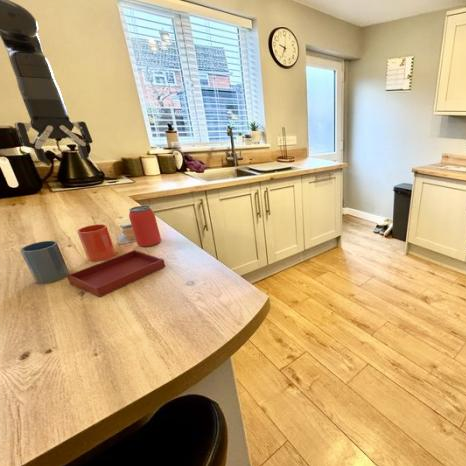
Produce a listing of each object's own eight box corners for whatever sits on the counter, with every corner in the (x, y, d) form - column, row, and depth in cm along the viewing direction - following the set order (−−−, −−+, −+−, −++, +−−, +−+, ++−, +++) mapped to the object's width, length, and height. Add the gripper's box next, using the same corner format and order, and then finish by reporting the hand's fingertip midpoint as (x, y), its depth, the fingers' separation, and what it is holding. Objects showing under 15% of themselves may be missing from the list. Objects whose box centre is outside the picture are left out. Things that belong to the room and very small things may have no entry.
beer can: (165, 242, 95) (156, 207, 91) (143, 249, 90) (132, 212, 86) (155, 237, 99) (146, 203, 94) (134, 243, 94) (123, 208, 89)
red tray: (99, 297, 67) (96, 288, 66) (70, 283, 72) (66, 275, 71) (165, 266, 80) (163, 259, 79) (136, 257, 85) (134, 249, 84)
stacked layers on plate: (151, 237, 98) (147, 222, 96) (119, 244, 93) (113, 228, 91) (147, 229, 105) (143, 215, 103) (117, 235, 100) (112, 220, 98)
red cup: (96, 263, 81) (85, 234, 78) (83, 258, 84) (72, 230, 80) (120, 254, 87) (111, 226, 83) (107, 250, 89) (98, 222, 86)
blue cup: (44, 286, 71) (29, 253, 67) (30, 280, 73) (14, 248, 69) (75, 274, 76) (63, 243, 73) (61, 269, 78) (48, 238, 75)
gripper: (72, 99, 82) (90, 157, 89) (-2, 96, 71) (26, 163, 77) (83, 99, 79) (102, 159, 85) (7, 96, 68) (35, 166, 74)
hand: (65, 161), depth 81 cm, fingers open, 8 cm apart
